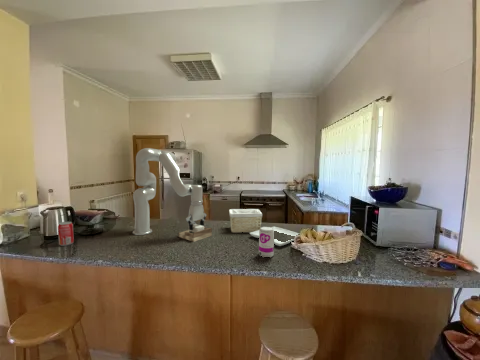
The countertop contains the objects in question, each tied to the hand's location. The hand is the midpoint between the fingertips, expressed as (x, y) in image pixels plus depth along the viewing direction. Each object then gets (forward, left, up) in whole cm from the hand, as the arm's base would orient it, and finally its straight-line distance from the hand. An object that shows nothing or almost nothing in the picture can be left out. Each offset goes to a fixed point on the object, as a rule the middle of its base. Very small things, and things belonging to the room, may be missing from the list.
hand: (196, 228), depth 152 cm
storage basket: (+15, +35, -6) cm, 38 cm away
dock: (-2, 0, -6) cm, 6 cm away
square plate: (+44, +33, -6) cm, 55 cm away
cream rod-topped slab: (0, 0, -3) cm, 3 cm away
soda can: (-48, -60, -6) cm, 77 cm away
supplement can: (+52, +4, -6) cm, 53 cm away
